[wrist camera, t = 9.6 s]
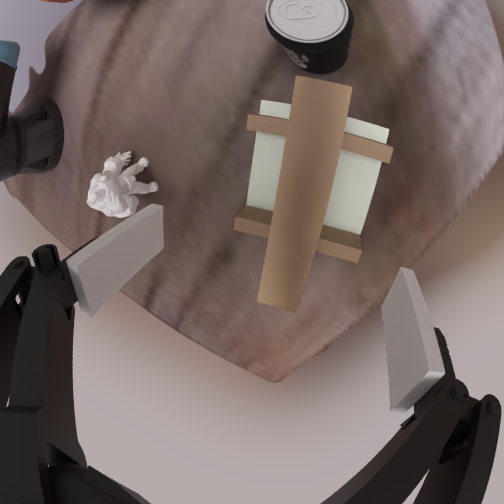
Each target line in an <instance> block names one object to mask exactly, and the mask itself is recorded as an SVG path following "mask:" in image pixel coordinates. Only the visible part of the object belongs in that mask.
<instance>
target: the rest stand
mask: <svg viewBox="0 0 504 504" xmlns="http://www.w3.org/2000/svg"><path fill="white" fill-rule="evenodd" d="M290 110H291V104H286V103H280V102H273V101H267V100H261V107H260V113H259V114H248V119H247V127H246V130H252V131H257V133H256V140H255V147H254V154H253V161H252V168H251V175H250V182H249V189H248V196H247V203H246V206H245V207H244V208H243V209H242V210H241V211H240V212H239V213H238V214H237V215H236V216H235V219H234V228H233V230H236V231H240V232H244V233H248V234H252V235H256V236H259V237H263V238H267V239H268V238H269V232H270V227H271V221H272V215H273V210H274V204H275V198H276V193H277V187H278V181H279V175H280V170H281V164H282V158H283V152H284V146H285V140H286V134H287V128H288V122H289V116H290ZM388 133H389V129H387V128H384V127H381V126H378V125H374V124H371V123H368V122H364V121H361V120H357V119H354V118H350V117H347V120H346V126H345V131H344V136H343V141H342V145H341V150H340V155H339V159H338V164H337V168H336V173H335V177H334V181H333V186H332V190H331V194H330V198H329V202H328V206H327V210H326V214H325V218H324V222H323V226H322V229H321V233H320V237H319V240H318V244H317V248H316V251H315V252H319V253H322V254H326V255H330V256H333V257H337V258H341V259H344V260H348V261H351V262H355V263H358V261H359V258H360V256H361V253H362V244H361V237H360V234H361V231H362V228H363V225H364V222H365V218H366V215H367V212H368V209H369V206H370V202H371V199H372V195H373V192H374V188H375V185H376V181H377V178H378V174H379V170H380V166H381V162H385V163H388V164H390V160H391V156H392V152H393V147H391V146H389V145H387V144H386V142H387V137H388Z"/></svg>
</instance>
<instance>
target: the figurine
mask: <svg viewBox="0 0 504 504" xmlns="http://www.w3.org/2000/svg"><path fill="white" fill-rule="evenodd" d="M128 154H131V151H129V152H125V153H123V154H121V153H117V155H116V156H114V157H110V158H108V159H107V160H106V161H105V163H104V170H103V172H102V174H101V173H97V174H95V176H94V177H93V178H92V180H91V183H90V186H91V187H90V189H89V192H88V200H87V204H88V205H89V206H90V207H92V208H94V209H96V210H99V211H102V212H103V213H104V214H105V215H106V216H109V217H112V216H115V217H118V218H123V217H127V216H130V215H133V214H134V213H135V212H136V207H137V206H138V204H139V200H138V199H137V197H136V196H134V195H132V196H130V195H131V194H134V193H140V194H146V193H149V192H155V191H157V190H158V184H157V183H156V182H151V183H150V184H146V183H141V182H136V178H135V177H134V175H136V174H138V173H139V172H141V171H143V170H144V169H143V168H144V167H147V166H148V164H149V161H148V159H147V158H145V157H143V158H141V159H140V160H139V162H138V163H137V164H134V165H132V166H131V167H129V168H127V169H126V170H125V171H123V173H122V174H120V172H121V168H122V167H123V166H124V165H128V164H129V163H125V162H130V159H127V158H130V157H132V155H128ZM126 159H127V160H126ZM119 174H120V175H119ZM116 177H117V178H116Z"/></svg>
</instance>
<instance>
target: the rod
mask: <svg viewBox="0 0 504 504" xmlns="http://www.w3.org/2000/svg"><path fill="white" fill-rule="evenodd" d="M351 93H352V87H350V86H346V85H342V84H338V83H333V82H329V81H324V80H319V79H314V78H308V77H302V76H296V78H295V85H294V91H293V97H292V103H291V110H290V116H289V122H288V128H287V134H286V140H285V146H284V152H283V158H282V164H281V170H280V175H279V181H278V187H277V193H276V198H275V204H274V210H273V215H272V221H271V227H270V232H269V238H268V243H267V249H266V254H265V260H264V265H263V270H262V276H261V281H260V286H259V292H258V297H257V302H260V303H264V304H267V305H270V306H274V307H277V308H281V309H284V310H288V311H292V312H295V313H297V311H298V308H299V305H300V301H301V298H302V295H303V292H304V289H305V285H306V282H307V279H308V275H309V272H310V269H311V265H312V262H313V258H314V255H315V251H316V248H317V244H318V240H319V237H320V233H321V229H322V226H323V222H324V218H325V214H326V210H327V206H328V202H329V198H330V194H331V190H332V186H333V181H334V177H335V173H336V168H337V164H338V159H339V155H340V150H341V145H342V141H343V136H344V131H345V126H346V120H347V115H348V110H349V104H350V98H351Z"/></svg>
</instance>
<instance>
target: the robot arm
mask: <svg viewBox="0 0 504 504" xmlns="http://www.w3.org/2000/svg"><path fill="white" fill-rule="evenodd" d="M19 52H20V46H19V44H18V43H16V42H12V41H2V40H0V182H1V181H3V180H5V179H7V178H10V177H12V176H14V175H16V174H20V173H44V172H46V171H49V170H51V169H53V168H54V167H55V166H56V165H57V163H58V161H59V158H60V155H61V152H62V146H63V125H62V119H61V115H60V112H59V110H58V108H57V106H56V105H55V103H54V102H53V101H51V100H41V101H37V102H34V103H33V104H31V105H29V106H27V107H26V108H24V109H23V110H21V111H19V112H18V113H16V114H14V115H12V116H8V110H9V103H10V96H11V91H12V86H13V81H14V76H15V72H16V70H17V61H18V57H19ZM163 248H164V240H163V206H161V205H157V204H150V205H149V206H147V207H145V208H144V209H142V210H140V211H139V212H137V213H135V214H134V215H132V216H131V217H129V218H127V219H126V220H124V221H123V222H121V223H120V224H118V225H117V226H115V227H113V228H112V229H110V230H109V231H107V232H106V233H104V234H103V235H101V236H99V237H97V238H94V239H92V240H90V241H89V242H87V243H86V244H85V245H83V246H82V247H80V248H79V249H77V250H76V251H74V252H73V253H72V254H70V255H69V256H68V257H66V258H65V259H63V260H62V261H61V262H60V259H59V255H58V251H57V247H56V246H55V245H52V244H46V245H42V246H40V247H38V248H37V249H35V250H34V251H33V253H32V257H33V260H34V263H35V267H34V266H31V263H30V260H29V258H28V257H26V256H20V257H17V258H15V259H14V260H12V262H10V264H9V265H8V266H7V267H6V269H5V270H4V272H3V273H2V274H1V276H0V504H150V503H149V502H148V501H147V500H145V499H144V498H143V497H142V496H140V495H139V494H138V493H136V492H134V491H132V490H130V489H128V488H127V487H125V486H123V485H121V484H119V483H118V482H116V481H115V480H113V479H111V478H109V477H107V476H106V475H104V474H102V473H101V472H99V471H97V470H96V469H94V468H93V467H91V466H88V468H87V463H86V459H85V455H84V452H83V450H82V448H81V446H80V444H79V442H78V438H77V431H76V423H75V412H74V399H73V375H72V374H73V372H72V370H73V368H72V366H73V365H72V360H73V357H72V355H73V331H74V316H75V308H74V305H73V304H74V303H76V302H77V301H78V303H79V305H80V308H81V310H82V311H83V312H85V313H87V314H89V315H91V316H93V315H94V314H95V313H96V312H97V311H98V310H99V309H100V308H101V307H102V306H103V305H104V304H105V303H106V302H107V301H108V300H109V299H110V298H111V297H112V296H113V295H114V294H115V293H116V292H117V291H118V290H119V289H120V288H121V287H122V286H123V285H124V284H125V283H126V282H127V281H129V280H130V279H131V278H132V277H133V276H134V275H135V274H136V273H137V272H138V271H139V270H140V269H141V268H142V267H144V266H145V265H146V264H147V263H148V262H149V261H150V260H151V259H152V258H153V257H154V256H156V255H157V254H158V253H159V252H160V251H161V250H162V249H163ZM17 294H18V296H19V298H20V303H19V304H17V302H16V299H15V298H16V296H17ZM381 309H382V317H383V325H384V332H385V341H386V349H387V350H386V351H387V362H388V375H389V391H390V411H393V412H404V413H405V412H407V411H408V410H409V409H410V408H411V407H412V406H413V405H414V414H413V415H412V416H411V417H409V418H408V419H407V420H406V421H404V422H403V423H402V424H401V425H400V426H401V428H400V430H399V431H398V432H397V433H396V434H395V436H394V437H393V438H392V439H391V440H390V441H389V442H388V443H387V444H386V445H385V446H384V447H383V449H382V450H381V451H380V452H379V453H378V454H377V455H376V456H375V457H374V458H373V459H372V460H371V461H370V462H369V463H368V464H367V465H366V466H365V467H364V468H363V469H361V470H360V471H359V472H358V473H357V474H356V475H355V476H354V477H353V478H352V479H351V480H349V481H348V482H347V483H346V484H345V485H344V486H342V487H341V488H340V489H339V490H338V491H336V492H335V493H334V494H333V495H332V496H330V497H329V498H327V499H326V500H325V501H324V502H322V503H321V504H402V503H403V502H404V501H405V500H406V498H407V497H408V496H409V495H410V494H411V492H412V491H413V490H414V488H415V487H416V486H417V485H418V484H419V482H420V481H421V480H422V478H423V477H424V475H425V474H426V473H427V471H428V469H429V472H428V474H427V476H426V478H425V481H424V483H423V485H422V487H421V489H420V491H419V493H418V495H417V497H416V499H415V501H414V503H413V504H481V503H482V500H483V497H484V494H485V491H486V488H487V484H488V481H489V477H490V474H491V470H492V466H493V462H494V457H495V452H496V446H497V441H498V435H499V428H500V421H501V405H500V402H499V400H498V399H497V398H496V397H495V396H494V395H491V394H487V395H485V397H483V398H482V399H481V400H480V401H479V400H477V399H475V398H472V397H470V396H469V392H468V389H467V387H466V386H465V385H464V383H463V382H461V381H460V380H458V379H456V377H455V373H454V370H453V365H452V361H451V358H450V355H449V350H448V348H447V344H446V340H445V337H444V336H443V334H442V333H441V331H440V330H439V328H435V327H433V325H432V322H431V318H430V315H429V312H428V309H427V306H426V303H425V300H424V298H423V295H422V292H421V289H420V287H419V284H418V281H417V279H416V276H415V274H414V271H413V270H410V269H407V268H403V267H401V268H400V270H399V272H398V274H397V276H396V279H395V281H394V283H393V285H392V287H391V289H390V291H389V293H388V295H387V297H386V299H385V301H384V303H383V305H382V307H381ZM8 398H9V405H8V407H6V406H7V402H8ZM48 465H49V467H48Z"/></svg>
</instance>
